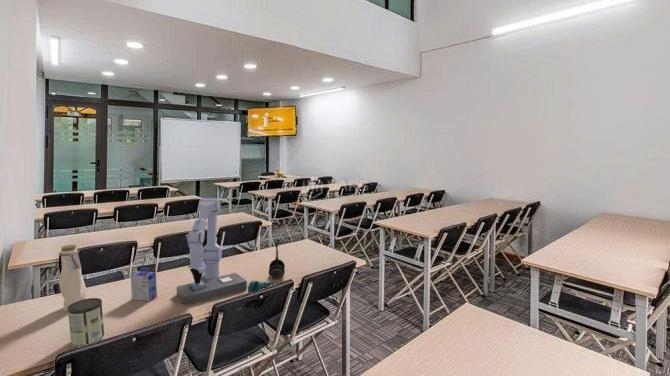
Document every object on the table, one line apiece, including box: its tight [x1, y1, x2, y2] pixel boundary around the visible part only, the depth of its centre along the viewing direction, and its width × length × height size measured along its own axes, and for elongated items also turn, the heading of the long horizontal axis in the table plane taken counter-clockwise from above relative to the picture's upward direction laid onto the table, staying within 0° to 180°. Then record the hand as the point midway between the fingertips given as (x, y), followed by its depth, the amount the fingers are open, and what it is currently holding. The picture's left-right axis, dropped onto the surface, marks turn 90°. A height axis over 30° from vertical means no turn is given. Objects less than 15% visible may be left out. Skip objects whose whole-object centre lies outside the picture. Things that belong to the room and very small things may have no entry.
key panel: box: [176, 272, 248, 306], centre depth 168 cm, size 14×30×4 cm, turn 129°
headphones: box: [268, 240, 286, 280], centre depth 188 cm, size 9×15×20 cm, turn 8°
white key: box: [220, 277, 233, 284], centre depth 173 cm, size 5×5×3 cm
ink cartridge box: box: [130, 266, 158, 302], centre depth 160 cm, size 10×6×14 cm, turn 79°
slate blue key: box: [191, 280, 205, 291], centre depth 164 cm, size 5×5×3 cm
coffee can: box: [67, 297, 106, 348], centre depth 125 cm, size 10×10×14 cm
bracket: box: [247, 279, 277, 294], centre depth 168 cm, size 18×7×8 cm, turn 162°
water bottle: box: [58, 244, 87, 312], centre depth 149 cm, size 10×9×28 cm
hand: (197, 282), depth 164 cm, fingers closed
